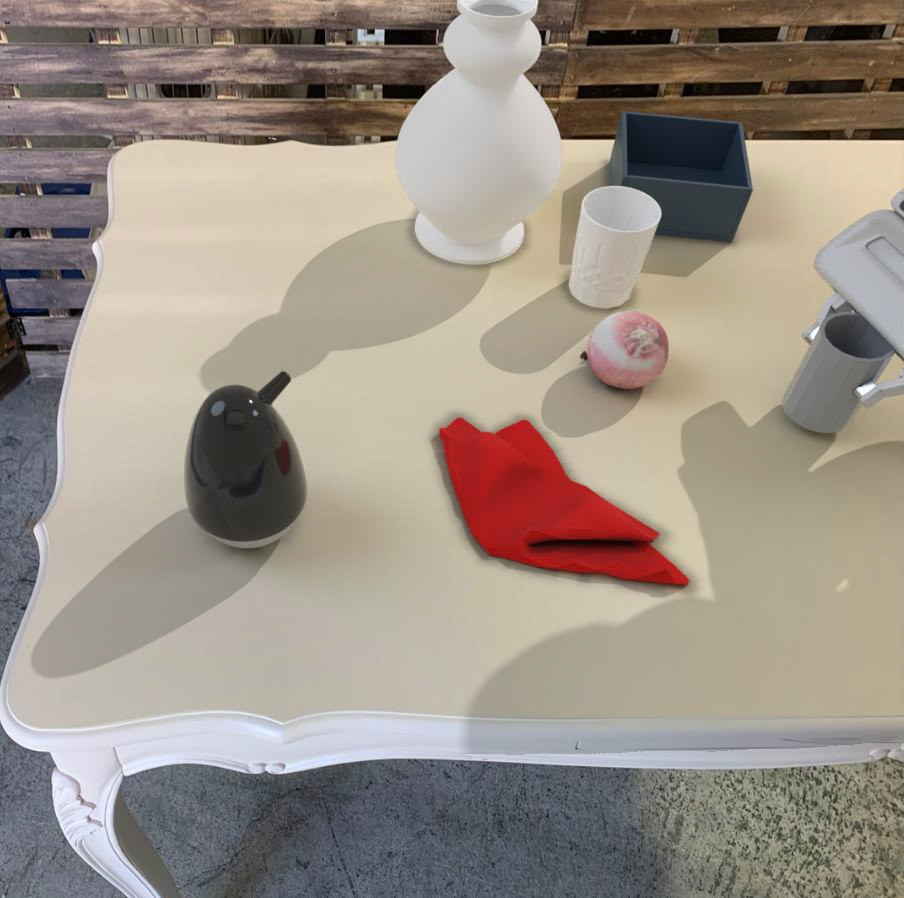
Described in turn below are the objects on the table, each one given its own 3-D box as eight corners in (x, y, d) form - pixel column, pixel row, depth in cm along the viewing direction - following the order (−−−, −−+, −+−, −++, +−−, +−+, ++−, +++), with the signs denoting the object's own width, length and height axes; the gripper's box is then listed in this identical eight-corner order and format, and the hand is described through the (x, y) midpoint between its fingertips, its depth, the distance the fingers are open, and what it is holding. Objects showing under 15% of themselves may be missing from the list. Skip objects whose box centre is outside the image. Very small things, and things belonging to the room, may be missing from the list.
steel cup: (846, 388, 87) (889, 315, 80) (856, 436, 84) (903, 365, 76) (778, 381, 88) (815, 308, 81) (785, 429, 84) (825, 357, 77)
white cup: (592, 257, 101) (613, 176, 93) (650, 290, 98) (677, 209, 90) (548, 288, 98) (566, 207, 90) (607, 323, 95) (630, 242, 87)
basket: (723, 174, 111) (742, 122, 106) (731, 243, 103) (753, 189, 98) (608, 163, 112) (622, 110, 107) (608, 230, 104) (622, 176, 99)
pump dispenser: (334, 522, 79) (331, 398, 66) (239, 587, 75) (217, 468, 62) (263, 456, 83) (247, 328, 71) (169, 514, 79) (136, 389, 67)
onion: (595, 407, 87) (612, 351, 82) (567, 354, 92) (581, 297, 86) (671, 394, 89) (693, 338, 83) (639, 342, 93) (659, 286, 87)
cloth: (390, 455, 83) (390, 439, 82) (501, 394, 88) (504, 377, 86) (586, 657, 71) (593, 643, 69) (704, 573, 76) (712, 558, 74)
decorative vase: (534, 185, 109) (575, -43, 89) (557, 279, 99) (611, 44, 79) (388, 187, 109) (396, -43, 89) (396, 281, 98) (408, 45, 78)
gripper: (1078, 354, 72) (915, 463, 78) (911, 210, 83) (780, 315, 89) (1069, 322, 68) (897, 441, 74) (893, 175, 79) (757, 288, 85)
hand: (832, 371), depth 82 cm, fingers closed on steel cup, 6 cm apart
